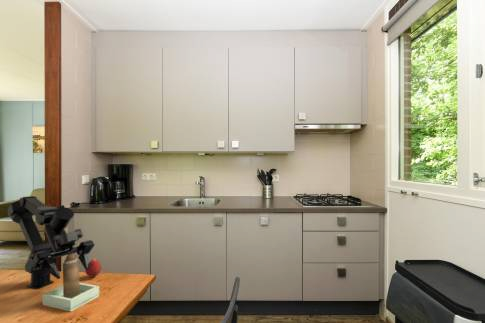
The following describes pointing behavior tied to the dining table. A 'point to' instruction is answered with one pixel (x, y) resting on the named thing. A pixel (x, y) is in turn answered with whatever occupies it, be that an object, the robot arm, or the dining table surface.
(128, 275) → the dining table surface
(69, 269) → the pepper mill
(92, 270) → the pomegranate
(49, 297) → the serving tray
